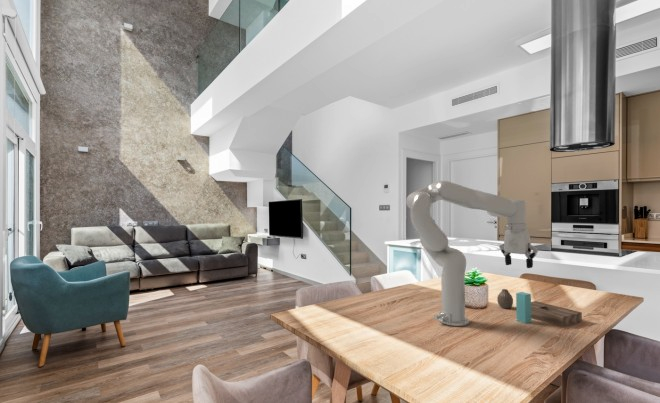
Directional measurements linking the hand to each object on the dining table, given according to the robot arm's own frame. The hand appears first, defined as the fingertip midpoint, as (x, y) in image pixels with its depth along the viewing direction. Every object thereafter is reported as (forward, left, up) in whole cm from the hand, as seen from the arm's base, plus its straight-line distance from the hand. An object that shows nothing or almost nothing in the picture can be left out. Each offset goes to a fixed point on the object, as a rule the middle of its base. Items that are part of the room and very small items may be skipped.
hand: (518, 266), depth 151 cm
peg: (0, -2, -24) cm, 24 cm away
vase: (+11, +15, -24) cm, 30 cm away
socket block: (+14, -4, -23) cm, 27 cm away
